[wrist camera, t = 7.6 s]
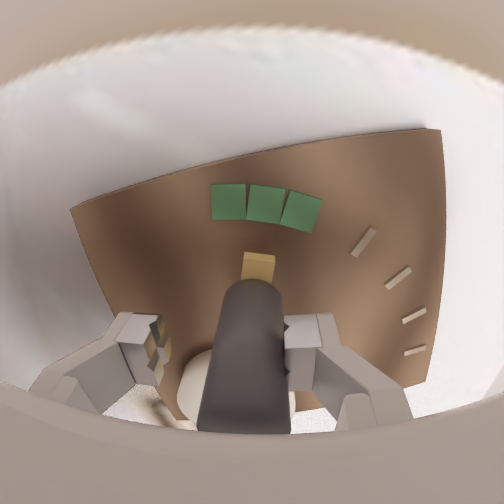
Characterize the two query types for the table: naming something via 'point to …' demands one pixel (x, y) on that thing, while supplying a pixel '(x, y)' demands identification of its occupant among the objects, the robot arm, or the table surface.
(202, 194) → the gauge panel
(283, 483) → the robot arm
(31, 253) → the table surface
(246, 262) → the dial knob with pointer
